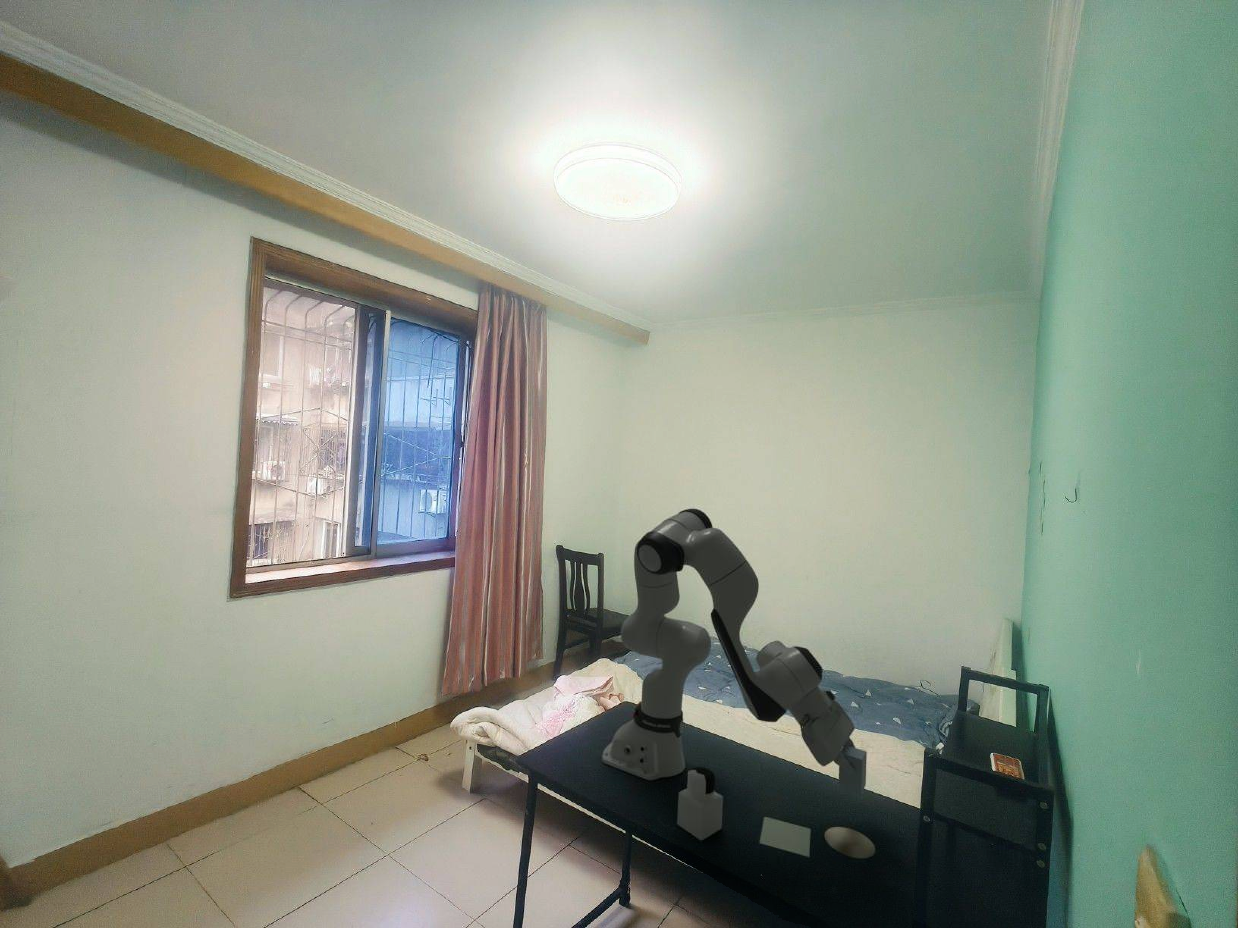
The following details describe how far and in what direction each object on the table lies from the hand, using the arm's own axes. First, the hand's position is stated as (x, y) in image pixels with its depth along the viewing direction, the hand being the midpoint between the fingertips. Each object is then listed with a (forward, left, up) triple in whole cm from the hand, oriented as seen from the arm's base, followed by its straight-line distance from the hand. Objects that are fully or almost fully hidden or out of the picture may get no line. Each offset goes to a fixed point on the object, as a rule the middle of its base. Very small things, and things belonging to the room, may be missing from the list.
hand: (855, 766), depth 116 cm
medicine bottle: (-32, -10, -16) cm, 37 cm away
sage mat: (-14, -5, -16) cm, 22 cm away
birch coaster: (-1, -1, -16) cm, 16 cm away
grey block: (-1, 0, -4) cm, 4 cm away
